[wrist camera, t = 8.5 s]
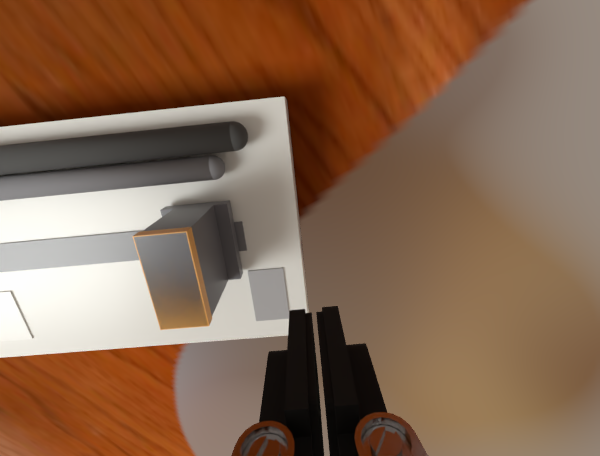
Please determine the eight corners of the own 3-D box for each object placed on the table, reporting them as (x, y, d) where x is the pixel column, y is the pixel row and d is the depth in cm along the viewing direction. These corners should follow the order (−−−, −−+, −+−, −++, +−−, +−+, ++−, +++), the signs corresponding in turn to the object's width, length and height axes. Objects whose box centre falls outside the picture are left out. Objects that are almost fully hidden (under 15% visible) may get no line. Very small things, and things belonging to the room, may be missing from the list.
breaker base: (286, 99, 20) (282, 94, 16) (308, 309, 25) (310, 349, 21) (-66, 137, 21) (-161, 142, 17) (27, 332, 26) (-27, 374, 22)
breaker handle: (229, 199, 19) (203, 229, 14) (243, 273, 21) (223, 324, 16) (165, 205, 19) (116, 237, 14) (184, 278, 21) (146, 331, 16)
